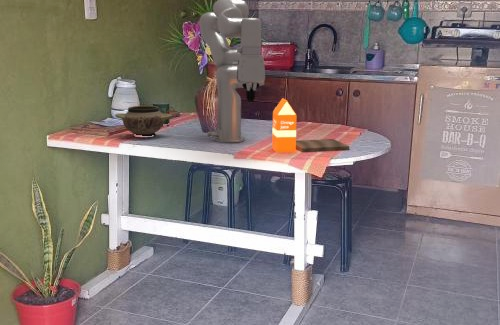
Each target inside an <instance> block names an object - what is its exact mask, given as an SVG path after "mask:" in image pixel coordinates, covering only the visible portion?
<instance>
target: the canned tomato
mask: <svg viewBox="0 0 500 325" xmlns="http://www.w3.org/2000/svg"><path fill="white" fill-rule="evenodd" d="M152 106H157V107H159V111H160V112H161V113H162V114H170V102H167V101H155V102H152ZM170 122H171V121H170V119H166V120H165V121H164V124H168V123H170Z"/></svg>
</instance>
